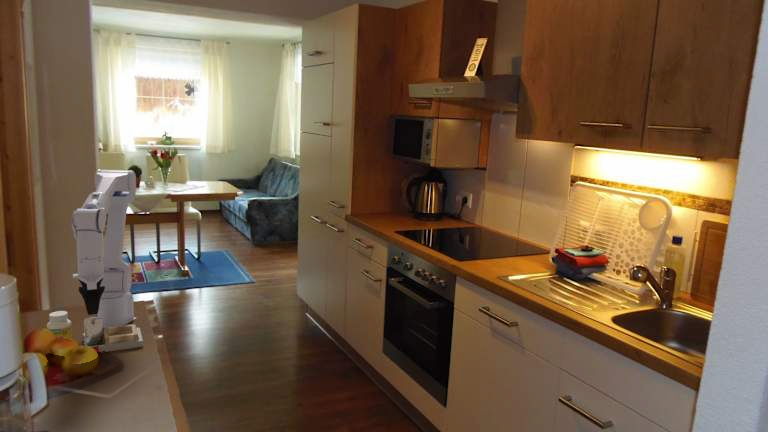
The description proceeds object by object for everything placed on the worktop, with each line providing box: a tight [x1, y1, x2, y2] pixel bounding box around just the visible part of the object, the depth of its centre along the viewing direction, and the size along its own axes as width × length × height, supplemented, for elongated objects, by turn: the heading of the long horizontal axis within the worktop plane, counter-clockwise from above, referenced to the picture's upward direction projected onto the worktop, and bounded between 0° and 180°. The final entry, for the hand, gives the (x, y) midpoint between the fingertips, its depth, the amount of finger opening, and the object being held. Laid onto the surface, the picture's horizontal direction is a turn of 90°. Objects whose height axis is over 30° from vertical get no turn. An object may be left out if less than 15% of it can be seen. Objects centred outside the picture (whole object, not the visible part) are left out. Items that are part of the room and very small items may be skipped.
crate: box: [103, 323, 138, 344], centre depth 145 cm, size 8×8×3 cm
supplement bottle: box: [46, 310, 73, 340], centre depth 139 cm, size 5×5×10 cm
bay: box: [82, 327, 144, 353], centre depth 144 cm, size 14×10×2 cm
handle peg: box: [83, 316, 103, 346], centre depth 142 cm, size 4×4×7 cm
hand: (92, 309), depth 140 cm, fingers open, 7 cm apart
